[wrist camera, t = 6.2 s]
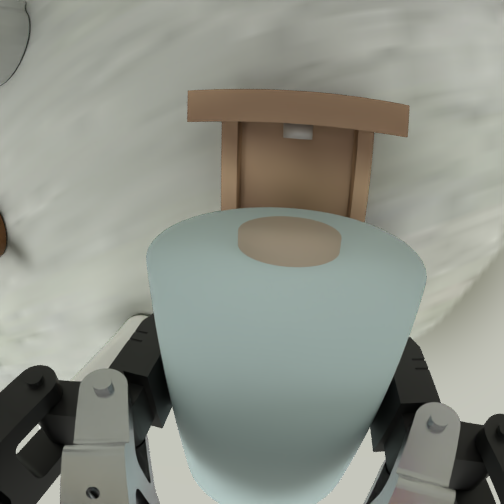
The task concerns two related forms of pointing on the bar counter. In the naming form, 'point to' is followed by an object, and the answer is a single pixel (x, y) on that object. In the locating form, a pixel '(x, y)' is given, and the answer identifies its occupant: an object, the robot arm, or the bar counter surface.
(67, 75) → the bar counter surface
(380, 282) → the paper roll
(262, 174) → the roll holder
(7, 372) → the bar counter surface
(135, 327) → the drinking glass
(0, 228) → the mug
